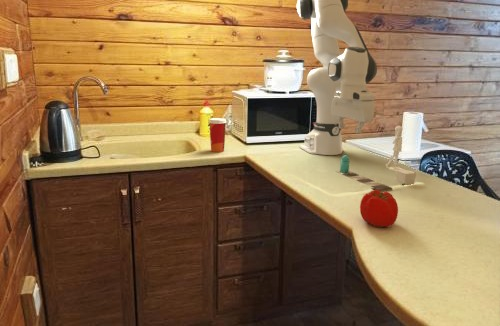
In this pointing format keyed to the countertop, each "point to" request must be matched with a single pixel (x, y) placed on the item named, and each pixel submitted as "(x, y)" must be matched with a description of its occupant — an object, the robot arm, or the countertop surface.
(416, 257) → the countertop surface
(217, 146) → the coffee cup
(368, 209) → the tomato
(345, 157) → the pawn
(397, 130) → the figurine
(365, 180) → the board
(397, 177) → the beige cube
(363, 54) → the robot arm
